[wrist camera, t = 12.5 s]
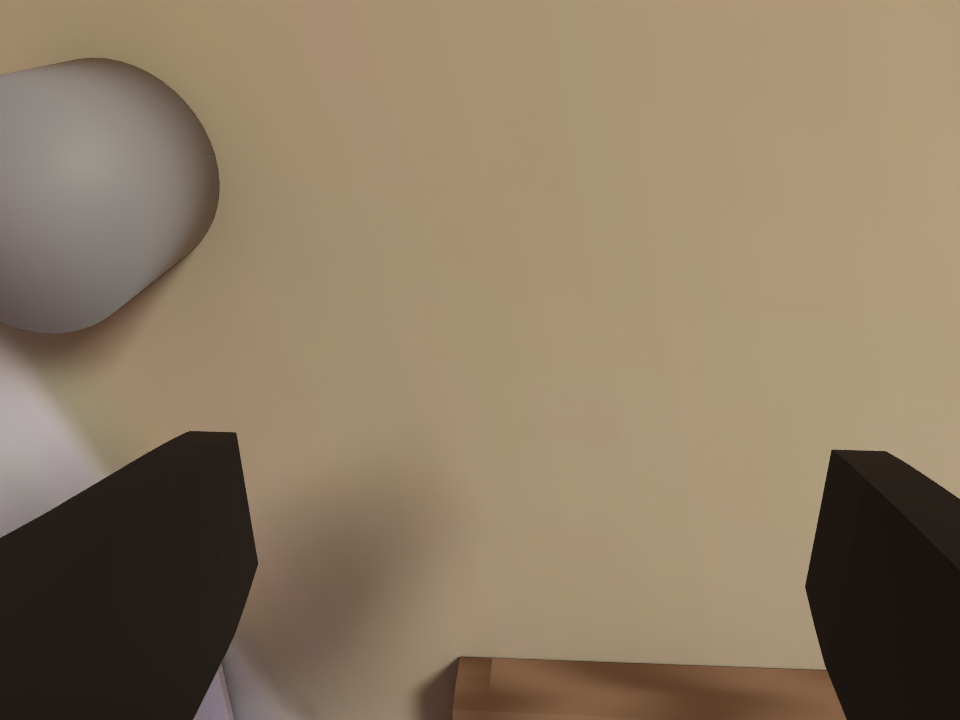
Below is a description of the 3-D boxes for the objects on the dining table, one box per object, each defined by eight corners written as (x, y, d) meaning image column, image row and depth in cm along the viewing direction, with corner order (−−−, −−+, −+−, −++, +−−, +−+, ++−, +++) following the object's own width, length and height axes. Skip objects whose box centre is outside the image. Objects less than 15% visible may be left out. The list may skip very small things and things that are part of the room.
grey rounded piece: (44, 269, 21) (-62, 333, 17) (-14, 60, 19) (-147, 83, 15) (235, 269, 21) (167, 334, 17) (200, 54, 18) (113, 78, 15)
